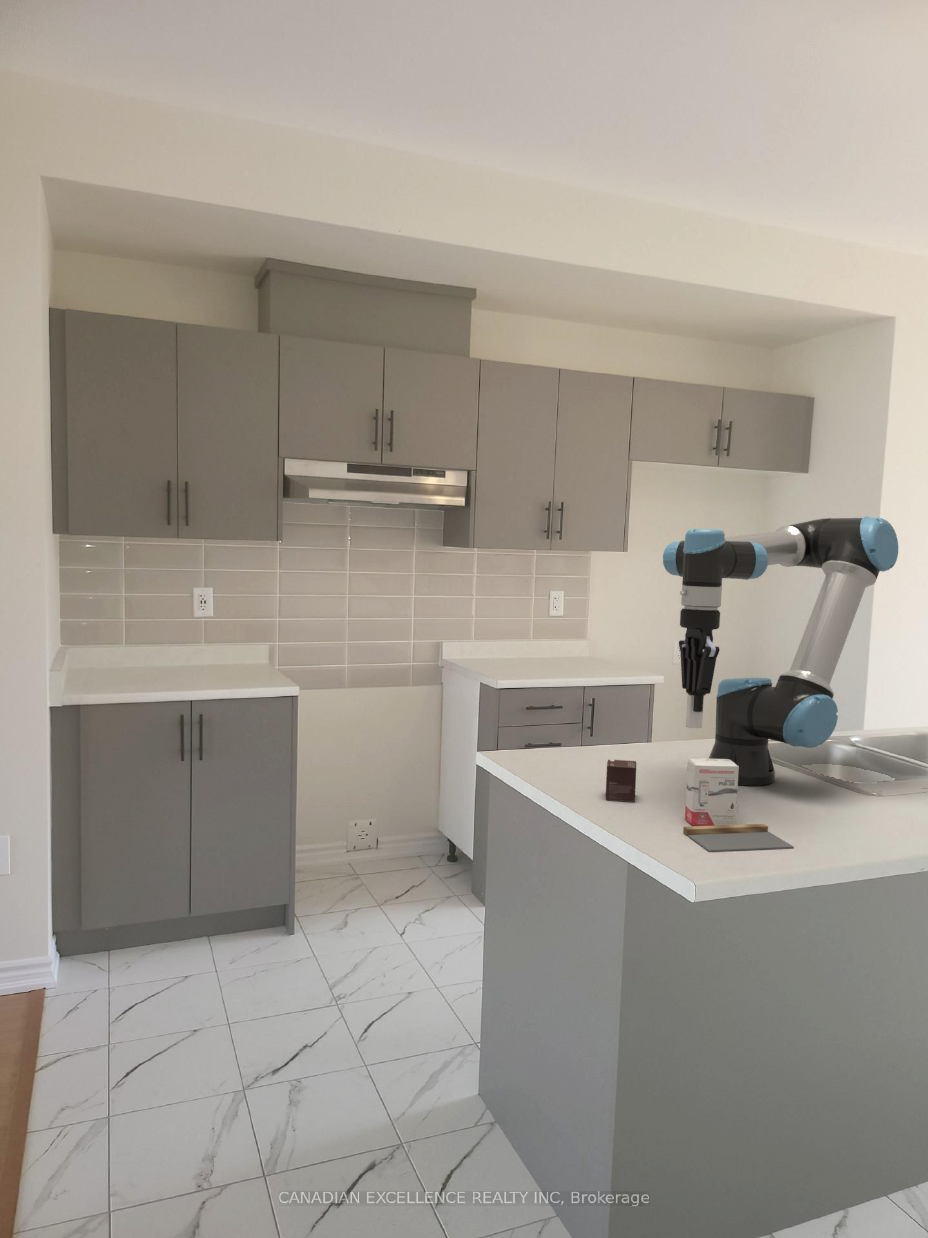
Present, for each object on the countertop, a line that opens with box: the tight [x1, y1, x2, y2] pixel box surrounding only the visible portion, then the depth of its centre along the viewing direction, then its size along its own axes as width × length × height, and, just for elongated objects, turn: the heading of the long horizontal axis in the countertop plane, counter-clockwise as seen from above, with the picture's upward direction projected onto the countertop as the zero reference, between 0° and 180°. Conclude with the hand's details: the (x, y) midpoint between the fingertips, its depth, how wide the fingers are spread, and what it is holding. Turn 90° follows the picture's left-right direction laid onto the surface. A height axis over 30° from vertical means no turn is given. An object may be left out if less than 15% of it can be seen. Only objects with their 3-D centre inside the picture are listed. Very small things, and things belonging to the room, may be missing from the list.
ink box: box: [684, 757, 739, 826], centre depth 165 cm, size 9×5×12 cm, turn 92°
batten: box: [682, 823, 769, 837], centre depth 159 cm, size 16×2×1 cm, turn 101°
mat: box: [687, 831, 795, 853], centre depth 154 cm, size 16×8×1 cm, turn 101°
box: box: [605, 759, 637, 803], centre depth 180 cm, size 6×6×7 cm
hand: (693, 727), depth 172 cm, fingers closed
